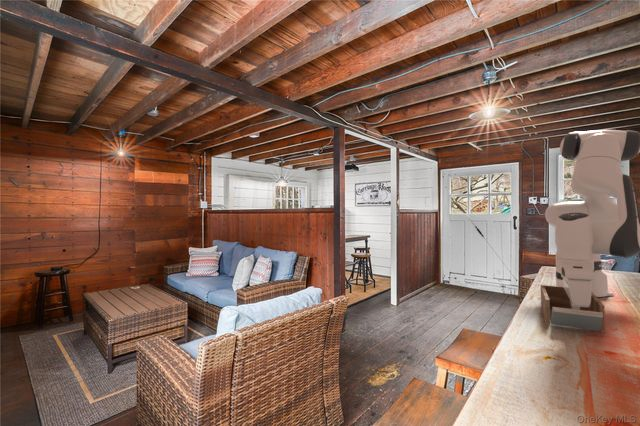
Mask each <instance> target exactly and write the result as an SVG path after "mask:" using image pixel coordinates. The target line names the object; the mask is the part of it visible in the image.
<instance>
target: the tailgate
mask: <svg viewBox="0 0 640 426" xmlns="http://www.w3.org/2000/svg"><path fill="white" fill-rule="evenodd" d="M551 309H552V310H551V316H550V325H551V326H552V325H553V326H559V327H567V328H575V329H580V330H586V331H587V330H589V331H597V332H600V331H599V330H600V326H601V322H602V318H603V313H602V312H593V311H585V310H576V309H567V308H559V307H552V308H551Z"/></svg>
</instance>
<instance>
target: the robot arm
mask: <svg viewBox="0 0 640 426" xmlns="http://www.w3.org/2000/svg"><path fill="white" fill-rule="evenodd" d="M559 151H560V154H561V156H562V158H564V159H565V160H570V161H574V160H576V161H575V163H574V168H573V171H572V172H573V173H572V178H571V183H570V188H571V190H572V192H574V193H575V194H577V195H580V196H582V197H583V199H582V201H562V202H561V201H560V202H557V203H552V204H551V203H550V204H549V205H548V206H547V208H546V209H545V211H544V217H545V220H546V222H547V223H548V224H549V225H550V226H552V227H553V228H555V229H554V243H555V245H556V252H555V273H556V272H558V273H560V274H561V277H562V278H563V288H564V290H565V291H566V293H567V295H568V297H569V299H570V303H571V309H576V310H580V307H589V306H590V303H591V291H592V293H593V294H594V295H595V296H596V297H597V298H605V297H613V296H614V295H615V294H614V292H613V291H611V290H610V289H609V284H608V275H607V274H606V273H605V272H603V271H602V270H603V263H602V262H603V261H602V260H601V255H606V256H613V257H617V258H618V257H619V258H625V259H630V258H632V257H634V256H637V255H638V254H640V214H639V205H638V199H637V194H636V193H637V192H636V189H635V184H634V182H633V179H632V178H631V177H630V175H628V174H624V173H623V172H622V170H621V163H622V162H625V161H631V160H633V159H635V158H637V156H638V154H639V153H640V132H639V131H636V130H630V129H627V130H619V129H617V130H616V129H601V130H587V131H586V130H585V131H573V132H567V134H565V135H564V137H563V139H562V140H561V141H560V144H559ZM610 196H611V197H614V198H615V199H616V202H615V201H614V200H613V199H611V198H610Z"/></svg>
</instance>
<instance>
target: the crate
mask: <svg viewBox="0 0 640 426" xmlns="http://www.w3.org/2000/svg"><path fill="white" fill-rule="evenodd" d="M540 307H541V309H542V314H543V318H544V321H545V324H546V325H551V310H550V309H552V307H559V308H567V309H571V303H570V299H569V297H568V295H567V293H566V291H565V290H564V288H563V287H556V285H555V286H554V285H553V286H552V285H542V284H540ZM580 310H585V311H593V312H602V313H603V318H602V322H601V326H600V330H599V331H598V332H600V333H606V321H605V319H606V314H605V304H604V303H602V301H601V300H600V299H599V297H596V296H595V295H594V294H593V293H592V291H591V303H590V306H589V307H580Z"/></svg>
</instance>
